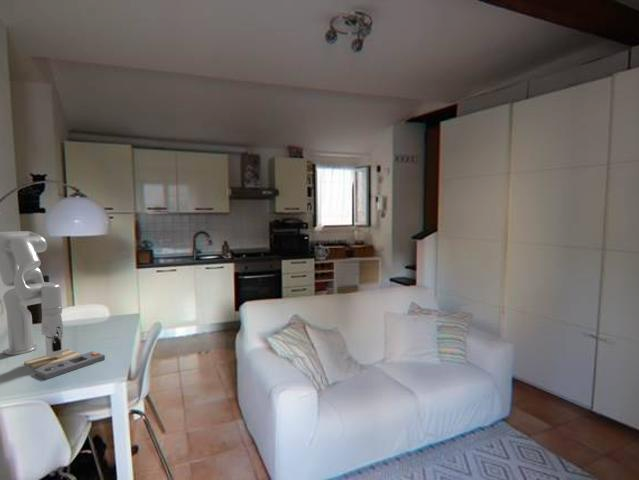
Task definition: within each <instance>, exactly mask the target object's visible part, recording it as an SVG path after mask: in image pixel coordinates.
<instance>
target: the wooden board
mask: <svg viewBox="0 0 639 480" xmlns="http://www.w3.org/2000/svg"><path fill="white" fill-rule="evenodd" d="M79 355H83V353H79V352H77V351H74V350H71V349H68V348H67V349H64V350H63V349H62V355H60V356H57V357H53V358H50V357H47V356H46V355H44V356H43V355H42V356H40V357H36V358H33V359H29V360H27V361H24V365H27V366H29V367H32V368H33V369H38V368H41V367H44V366H47V365H50V364H54V363H57V362H60V361H63V360H66V359H70V358H73V357H76V356H79Z"/></svg>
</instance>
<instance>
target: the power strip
mask: <svg viewBox="0 0 639 480" xmlns="http://www.w3.org/2000/svg"><path fill="white" fill-rule="evenodd" d="M105 359H106V354H102V353H100V352H98V351H89V352H86V353H82V355H79V356H76V357H73V358H70V359H66V360H63V361H60V362H57V363H54V364H50V365H47V366H44V367H41V368H38V369H36V368H33V369H34V375H36V376H38V377H40V378H43V379H44V380H49V379H51V378H54V377H58V376H61V375H63V374H66V373H69V372H71V371H72V372H73V371H74V370H77V369H81V368H84V367H86V366H87V367H88V366H89V365H93V364H96V363H98V362H101V361H104V360H105Z"/></svg>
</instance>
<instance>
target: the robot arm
mask: <svg viewBox="0 0 639 480" xmlns="http://www.w3.org/2000/svg"><path fill="white" fill-rule="evenodd" d="M10 249H11V250H10ZM47 249H48V243H47V241H46V239H45V238H44V237H43V236H42V235H41V234H38V233H36V232H33V231H28V230H24V231H23V230H22V231H21V230H20V231H16V230H15V231H0V277H1V280H2V284H3V285H4V286H6V287H14V288H12V289H11V288H10V289H9V290H6V291H5V292H4V294H3V297H2V298H3V299H2V301H3V303H4V307H5V311H6V312H5V313H6V322H7V323H6V324H7V337H8V348H6V349H5V350H4V354H5V355H8V356H15V355H16V356H17V355H23V354H27V353H30V352H32V351H35V350H37V349H38V344H35V343H34V333H33V317H32V312H31V311H30V310H29V309H27V307H28V306H33V305H38V304H41V316H42V317H41V334H42V335H43V336H44V337H53V343H52V345H53V352H55V351H58V350H61V338H63V333H64V327H63V326H64V325H63V324H64V323H63V318H62V313H63V304H62V302H63V301H62V288H61V285H60V284H58V283H57V284H56V283H54V282H49V281H45V280H44V276H43V273H42V270H41V268H40V266H41V263H42V262H41V261H42V260H40V257H39V255H38V253H44V252H46V250H47ZM56 334H57V335H56ZM55 335H56V336H55ZM55 337H57V338H56V339H55Z"/></svg>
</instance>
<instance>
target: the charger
mask: <svg viewBox="0 0 639 480" xmlns="http://www.w3.org/2000/svg"><path fill="white" fill-rule="evenodd" d="M56 335H57V334H56ZM56 335H55V336H56ZM44 337H45V338H44V339H45V356H47V357H50V358H53V357H57V356H60V355H62V351H63V342H62V341H63V339H62V338H63V337H62V338H61V350H58V351H55V352H53V345H52V343H53V337H46V336H44ZM56 338H57V337H55V339H56Z"/></svg>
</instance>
